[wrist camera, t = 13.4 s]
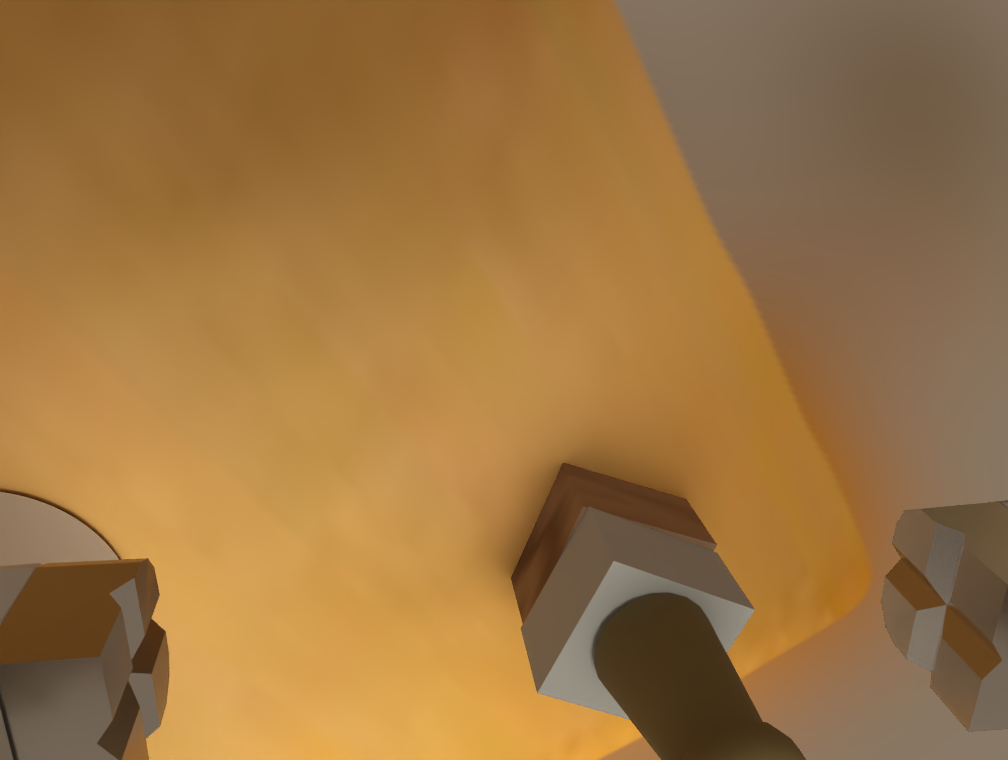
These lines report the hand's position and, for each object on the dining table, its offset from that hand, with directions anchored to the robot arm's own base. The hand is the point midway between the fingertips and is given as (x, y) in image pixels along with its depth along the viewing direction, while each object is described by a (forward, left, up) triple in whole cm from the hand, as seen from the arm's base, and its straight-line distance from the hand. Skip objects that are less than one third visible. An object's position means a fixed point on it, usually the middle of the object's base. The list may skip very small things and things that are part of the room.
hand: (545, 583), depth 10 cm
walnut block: (-14, -20, -35) cm, 43 cm away
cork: (-14, -20, -25) cm, 35 cm away
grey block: (-14, -20, -30) cm, 39 cm away
